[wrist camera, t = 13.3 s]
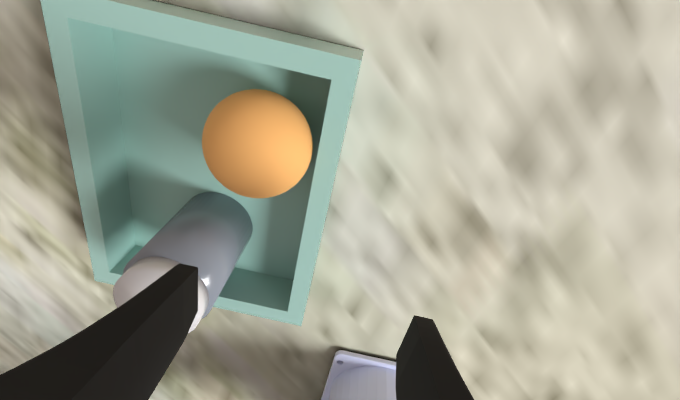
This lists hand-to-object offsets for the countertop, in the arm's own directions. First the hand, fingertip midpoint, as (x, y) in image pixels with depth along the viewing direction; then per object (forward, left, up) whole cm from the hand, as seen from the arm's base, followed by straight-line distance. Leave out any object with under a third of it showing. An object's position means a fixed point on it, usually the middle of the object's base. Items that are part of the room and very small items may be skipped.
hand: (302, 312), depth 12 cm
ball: (+2, +4, -7) cm, 8 cm away
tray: (-1, +7, -10) cm, 12 cm away
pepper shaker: (-5, +7, -10) cm, 12 cm away
